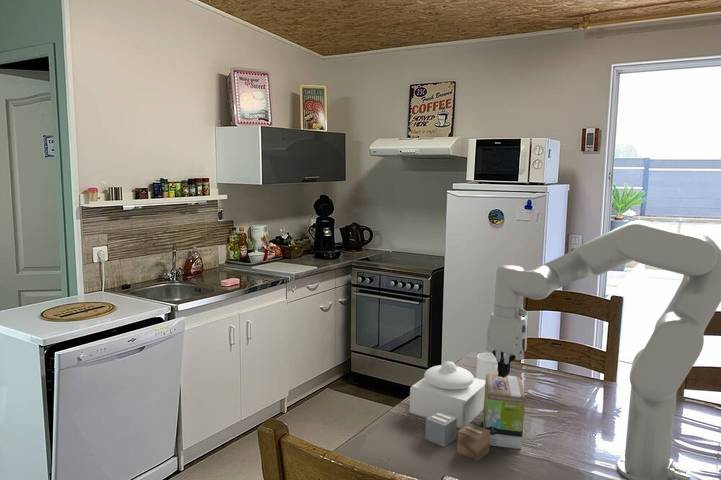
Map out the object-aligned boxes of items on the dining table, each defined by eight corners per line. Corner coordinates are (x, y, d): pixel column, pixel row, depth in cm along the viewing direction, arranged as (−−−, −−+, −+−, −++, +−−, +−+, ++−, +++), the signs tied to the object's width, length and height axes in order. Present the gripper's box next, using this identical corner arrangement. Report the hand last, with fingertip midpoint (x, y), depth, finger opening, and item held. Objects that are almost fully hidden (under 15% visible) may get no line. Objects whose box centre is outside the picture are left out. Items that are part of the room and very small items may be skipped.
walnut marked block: (489, 452, 137) (490, 429, 137) (477, 461, 133) (478, 438, 132) (468, 444, 141) (469, 422, 141) (457, 452, 137) (458, 430, 136)
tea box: (523, 450, 139) (526, 396, 137) (483, 445, 141) (486, 392, 139) (517, 423, 153) (520, 375, 151) (482, 420, 155) (484, 372, 153)
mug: (486, 397, 171) (488, 365, 169) (471, 383, 182) (473, 353, 181) (511, 395, 172) (512, 364, 171) (494, 381, 184) (496, 352, 183)
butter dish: (434, 393, 173) (436, 347, 171) (487, 408, 163) (489, 359, 161) (409, 413, 159) (410, 363, 157) (465, 430, 149) (467, 376, 147)
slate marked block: (456, 438, 144) (456, 417, 143) (444, 447, 140) (444, 424, 139) (437, 431, 148) (438, 410, 147) (425, 439, 144) (426, 417, 143)
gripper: (540, 314, 140) (535, 379, 143) (489, 303, 150) (485, 364, 153) (528, 319, 135) (523, 387, 137) (476, 308, 145) (472, 371, 147)
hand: (503, 375), depth 145 cm, fingers closed
